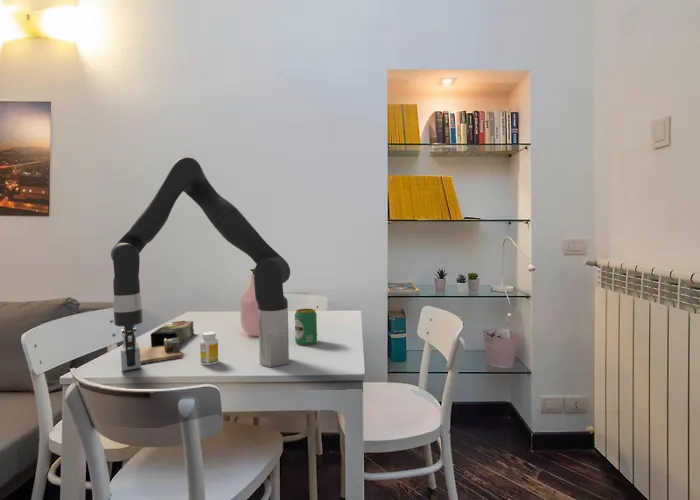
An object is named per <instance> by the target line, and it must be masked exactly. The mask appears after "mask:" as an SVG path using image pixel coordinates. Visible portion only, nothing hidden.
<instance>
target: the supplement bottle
mask: <svg viewBox="0 0 700 500" xmlns="http://www.w3.org/2000/svg"><path fill="white" fill-rule="evenodd" d="M216 334H217V333H216V332H215V331H206V332H205V331H204V332H202V334H201V335H202V337H201V338H202V339H201V340H200V341H199V347H200V349H199V351H200V352H199V353H200V354H199V355H200V364H201V365H202V364H203V365H202V366H212V364H213V365H216V364H217V363H219V340H218V339H217V338H216V336H217V335H216Z"/></svg>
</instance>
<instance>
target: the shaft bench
mask: <svg viewBox="0 0 700 500" xmlns="http://www.w3.org/2000/svg"><path fill="white" fill-rule="evenodd" d="M136 343H137V344H136V345H139V341H136ZM180 344H181V343H180V342H179V338H174V337H171V338H168V339H167V337H166V338H165V339H164V340H163V345H158V346H154V347H151V346H150V347H144V348H140V363H146V364H148V363H147V362H153V363H155V362H154V361H159V362H161V361H160V360H165V361H168V360H167V359H171V360H174V359H173V358H177V359H182V358H183V353H182V351H181V350H180V346H181V345H180ZM136 345H135V346H136ZM122 347H124V344H122ZM181 357H182V358H181Z"/></svg>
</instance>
